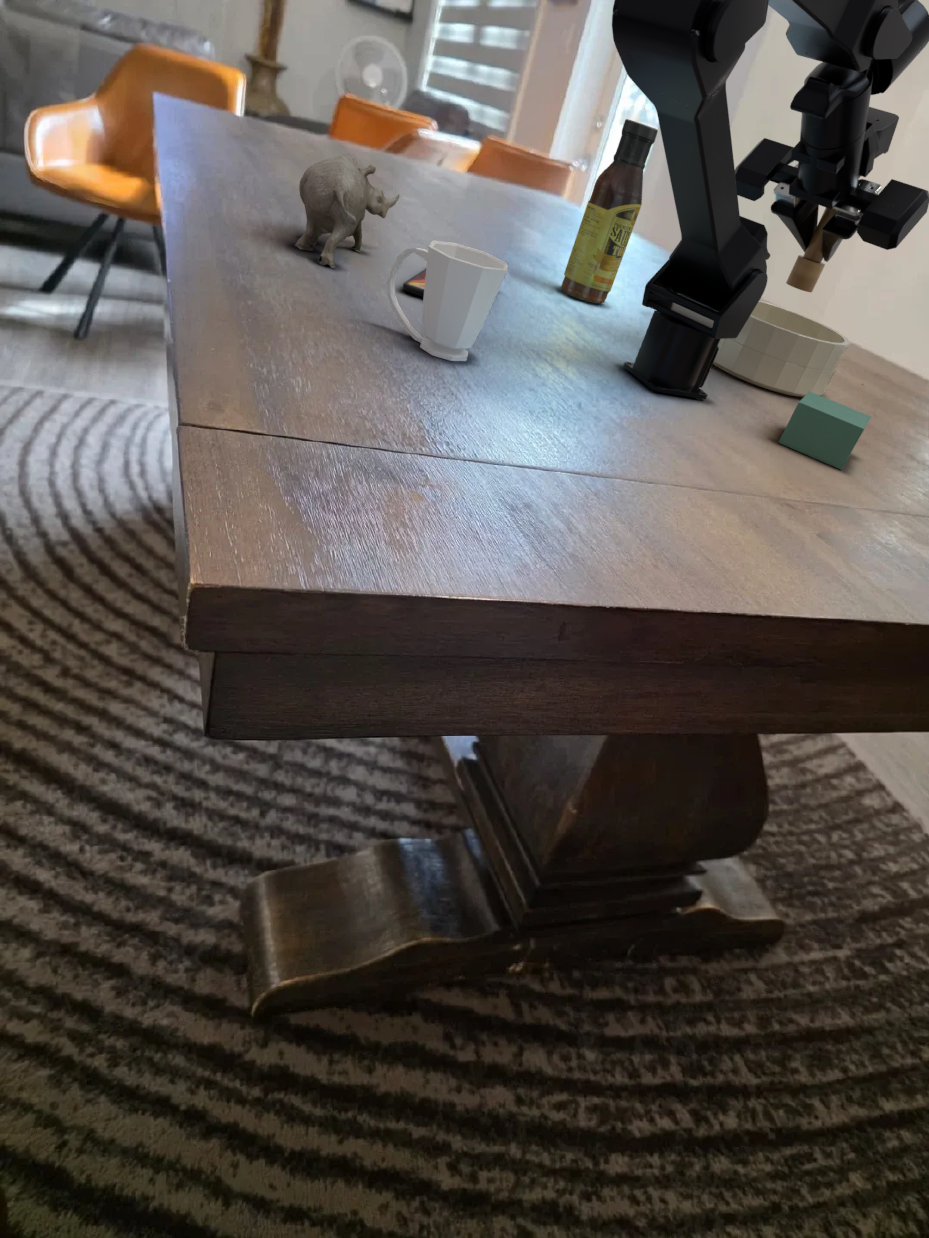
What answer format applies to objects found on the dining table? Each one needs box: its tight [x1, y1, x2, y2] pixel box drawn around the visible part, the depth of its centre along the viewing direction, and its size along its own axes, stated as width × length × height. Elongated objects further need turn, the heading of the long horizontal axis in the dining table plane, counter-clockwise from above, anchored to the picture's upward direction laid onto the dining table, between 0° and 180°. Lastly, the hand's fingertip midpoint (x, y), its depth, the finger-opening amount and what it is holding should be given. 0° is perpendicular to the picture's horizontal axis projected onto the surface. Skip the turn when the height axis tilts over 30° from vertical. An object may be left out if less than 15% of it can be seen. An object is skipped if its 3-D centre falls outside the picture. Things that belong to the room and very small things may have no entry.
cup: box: [386, 239, 509, 362], centre depth 72 cm, size 7×10×8 cm
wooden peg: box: [785, 207, 837, 293], centre depth 93 cm, size 3×3×9 cm
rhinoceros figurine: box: [294, 154, 401, 269], centre depth 90 cm, size 8×14×15 cm
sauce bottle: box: [560, 118, 659, 305], centre depth 104 cm, size 6×6×20 cm
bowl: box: [712, 299, 851, 398], centre depth 99 cm, size 15×15×6 cm
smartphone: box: [402, 268, 426, 298], centre depth 92 cm, size 8×1×15 cm
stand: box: [778, 392, 872, 471], centre depth 79 cm, size 6×6×4 cm
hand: (819, 255), depth 94 cm, fingers closed on wooden peg, 2 cm apart
